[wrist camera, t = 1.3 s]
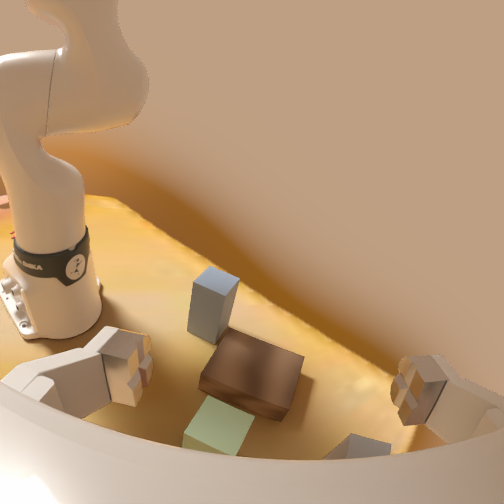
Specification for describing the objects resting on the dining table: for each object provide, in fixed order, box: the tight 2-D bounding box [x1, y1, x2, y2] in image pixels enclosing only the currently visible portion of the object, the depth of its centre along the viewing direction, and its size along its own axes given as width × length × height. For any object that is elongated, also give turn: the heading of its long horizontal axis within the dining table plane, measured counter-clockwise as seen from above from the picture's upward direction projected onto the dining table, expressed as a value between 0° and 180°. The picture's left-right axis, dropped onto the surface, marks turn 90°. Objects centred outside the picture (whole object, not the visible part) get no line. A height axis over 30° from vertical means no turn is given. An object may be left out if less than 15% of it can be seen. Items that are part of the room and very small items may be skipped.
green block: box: [182, 395, 255, 456], centre depth 27 cm, size 5×5×10 cm
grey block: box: [322, 433, 391, 460], centre depth 25 cm, size 5×5×10 cm
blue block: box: [187, 266, 240, 344], centre depth 46 cm, size 5×5×10 cm
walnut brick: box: [198, 328, 304, 422], centre depth 40 cm, size 12×10×4 cm
